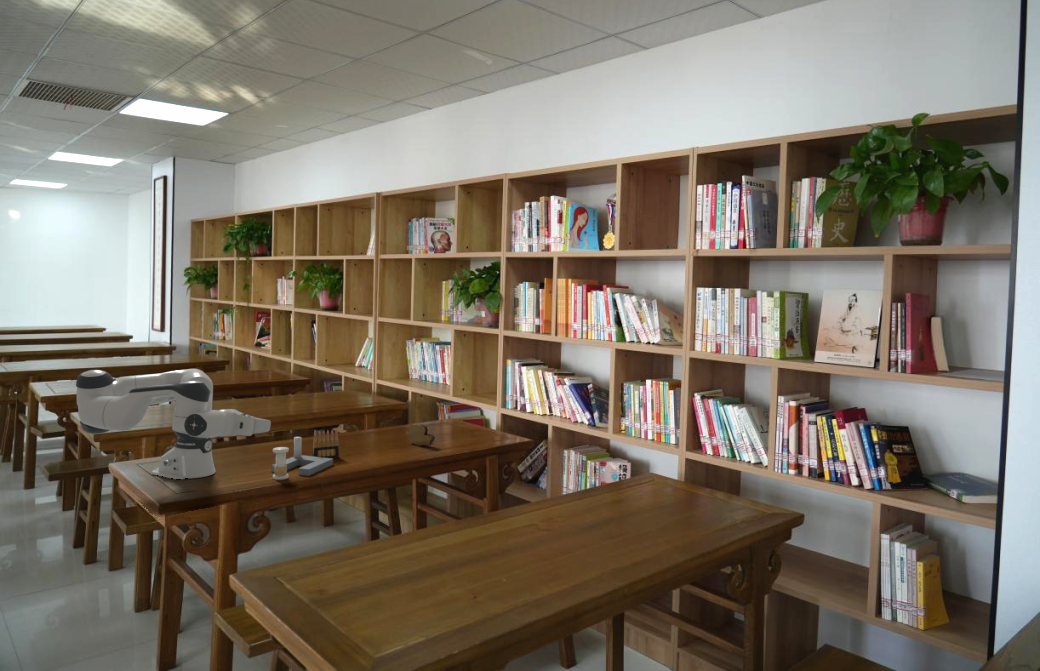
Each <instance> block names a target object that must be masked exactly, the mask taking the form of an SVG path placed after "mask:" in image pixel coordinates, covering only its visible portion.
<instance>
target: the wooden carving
mask: <svg viewBox="0 0 1040 671" xmlns="http://www.w3.org/2000/svg"><path fill="white" fill-rule="evenodd" d="M408 430H409V431H406V432H405V434H406V435H407V436H408V438H407V439H408V441H409V442H411V443H412V444H414V445H415V446H424V445H425V446H427V447H429V446H432V445H433V443H434V441H435V438H436V437H435V436H434V434H431V433H428V431H429V430H428V427H427V426H425V425H424V424H422V423H418V422H417V423H414V424H413V423H411V424H409V425H408Z"/></svg>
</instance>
